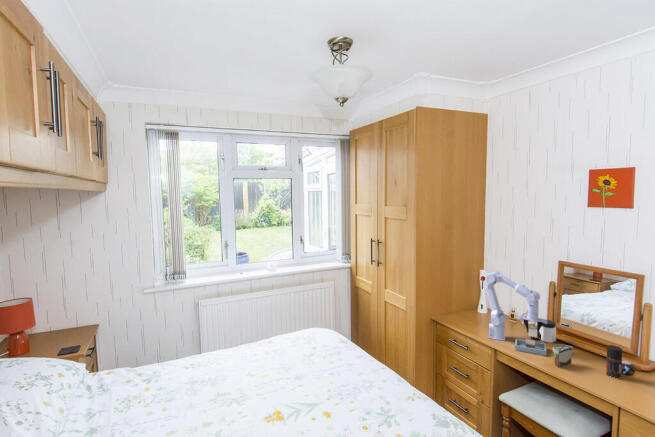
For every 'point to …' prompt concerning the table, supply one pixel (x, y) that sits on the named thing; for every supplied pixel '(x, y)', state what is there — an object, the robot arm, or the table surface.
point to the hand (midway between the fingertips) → (532, 332)
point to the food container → (562, 355)
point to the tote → (539, 348)
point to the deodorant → (614, 361)
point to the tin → (530, 343)
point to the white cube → (532, 331)
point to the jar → (548, 331)
